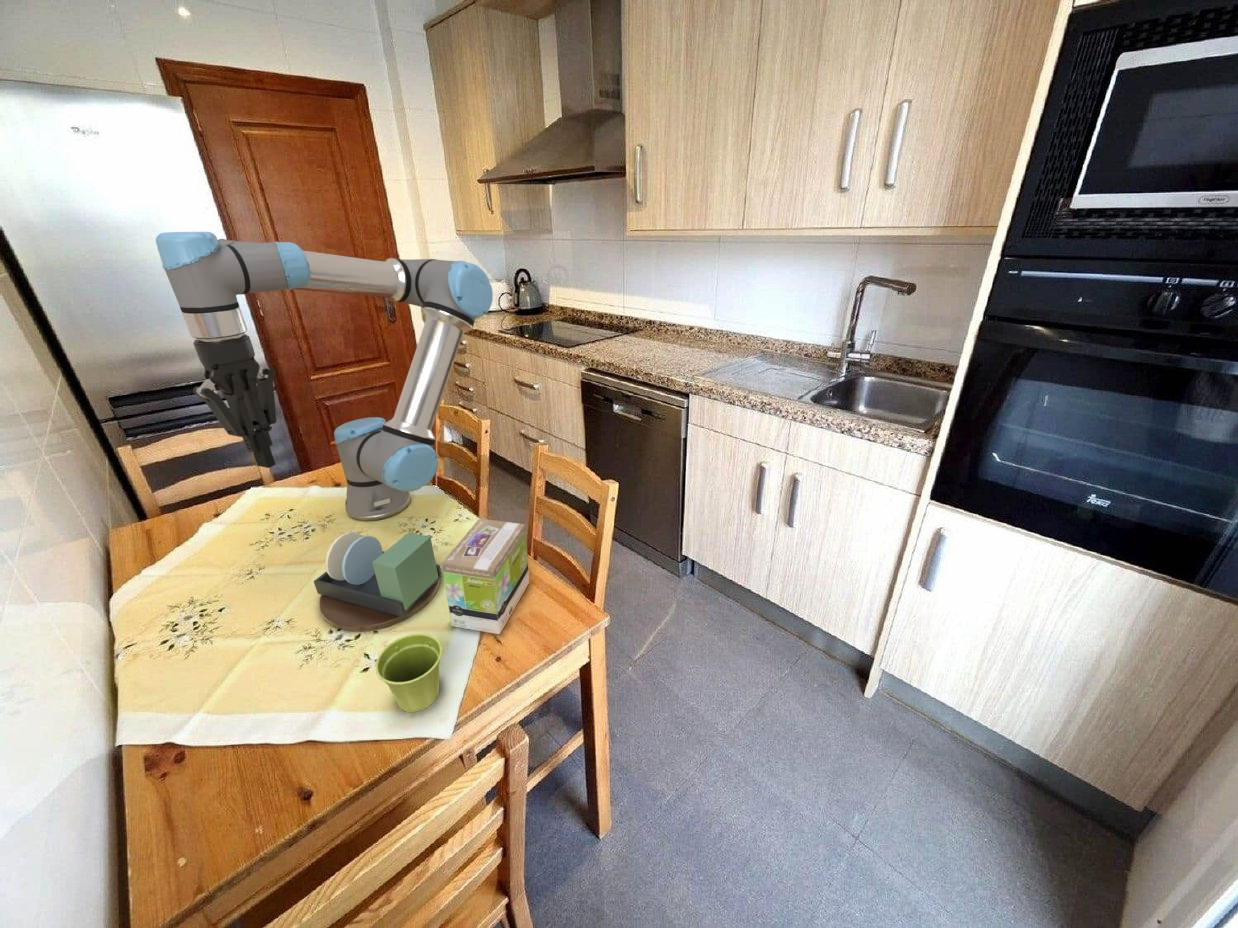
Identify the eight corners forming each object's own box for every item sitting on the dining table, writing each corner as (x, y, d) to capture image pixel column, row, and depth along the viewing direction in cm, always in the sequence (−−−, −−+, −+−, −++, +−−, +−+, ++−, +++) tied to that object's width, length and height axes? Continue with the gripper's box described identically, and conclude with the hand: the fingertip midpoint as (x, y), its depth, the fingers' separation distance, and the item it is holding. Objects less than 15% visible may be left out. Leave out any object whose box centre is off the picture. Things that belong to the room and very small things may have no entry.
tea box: (502, 636, 90) (493, 571, 84) (450, 627, 92) (438, 563, 85) (531, 582, 103) (525, 521, 97) (486, 575, 105) (477, 516, 98)
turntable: (378, 548, 113) (377, 544, 113) (461, 568, 107) (460, 564, 107) (293, 614, 95) (291, 610, 94) (388, 644, 88) (387, 639, 88)
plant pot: (462, 683, 81) (455, 644, 77) (420, 732, 74) (409, 692, 70) (418, 664, 85) (409, 625, 81) (373, 709, 77) (360, 669, 73)
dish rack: (317, 593, 98) (302, 549, 93) (363, 557, 108) (351, 515, 103) (402, 617, 92) (390, 571, 88) (442, 577, 103) (433, 533, 98)
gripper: (241, 326, 88) (282, 448, 99) (161, 343, 77) (216, 478, 88) (274, 329, 86) (311, 453, 97) (196, 347, 75) (248, 484, 86)
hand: (266, 465), depth 92 cm, fingers closed
